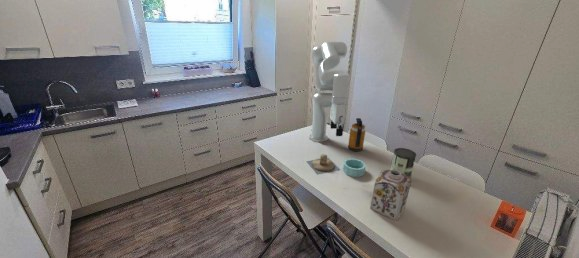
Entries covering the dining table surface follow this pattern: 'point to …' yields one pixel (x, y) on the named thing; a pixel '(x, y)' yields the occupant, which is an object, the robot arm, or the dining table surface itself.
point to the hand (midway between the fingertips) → (336, 132)
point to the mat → (322, 171)
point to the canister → (357, 136)
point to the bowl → (354, 167)
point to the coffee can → (403, 161)
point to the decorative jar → (390, 193)
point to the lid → (323, 164)
